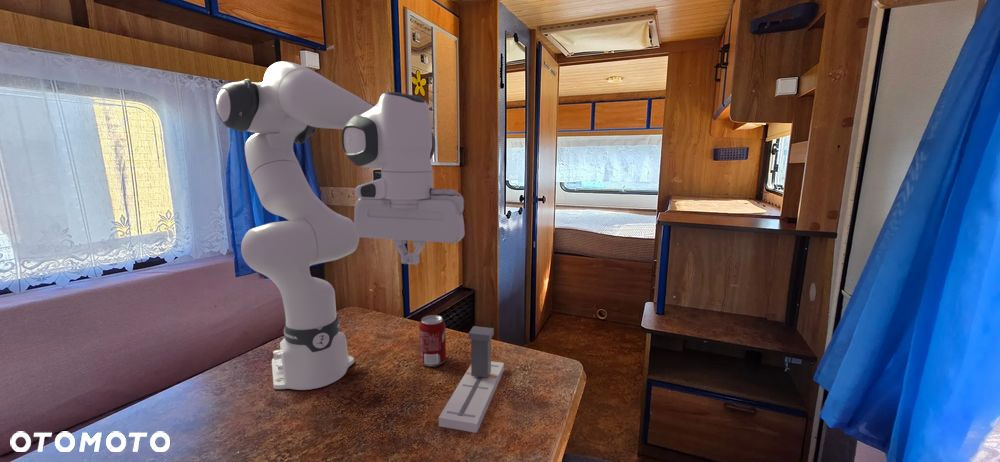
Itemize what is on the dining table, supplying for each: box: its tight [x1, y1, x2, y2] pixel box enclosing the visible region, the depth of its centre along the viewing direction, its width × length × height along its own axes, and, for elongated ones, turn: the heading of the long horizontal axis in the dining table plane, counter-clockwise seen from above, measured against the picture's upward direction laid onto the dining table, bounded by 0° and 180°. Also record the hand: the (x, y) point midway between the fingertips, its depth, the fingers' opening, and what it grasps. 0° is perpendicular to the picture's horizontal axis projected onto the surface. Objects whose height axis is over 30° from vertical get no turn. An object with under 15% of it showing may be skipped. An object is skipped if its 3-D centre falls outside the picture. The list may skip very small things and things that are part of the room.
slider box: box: [438, 360, 505, 434], centre depth 89 cm, size 24×8×2 cm, turn 167°
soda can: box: [418, 314, 447, 367], centre depth 103 cm, size 7×7×12 cm
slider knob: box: [468, 325, 495, 378], centre depth 93 cm, size 4×5×11 cm
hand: (410, 263), depth 72 cm, fingers closed
